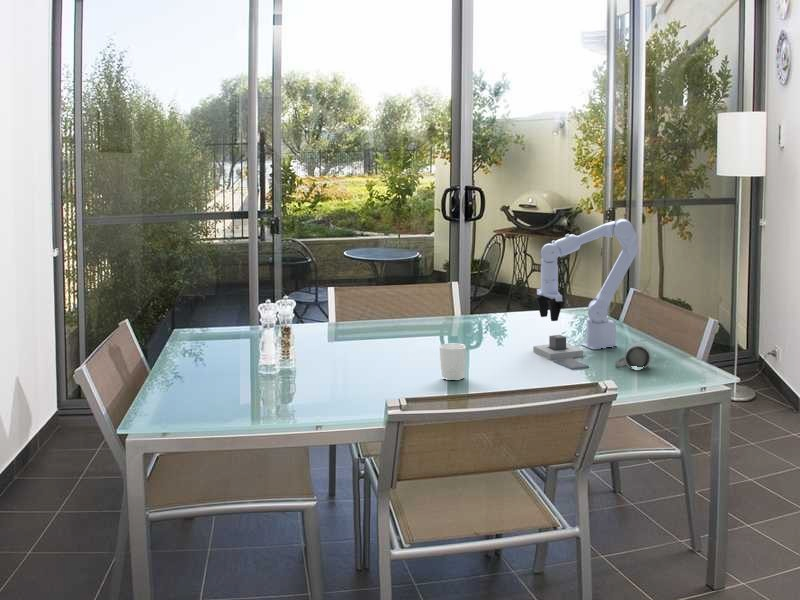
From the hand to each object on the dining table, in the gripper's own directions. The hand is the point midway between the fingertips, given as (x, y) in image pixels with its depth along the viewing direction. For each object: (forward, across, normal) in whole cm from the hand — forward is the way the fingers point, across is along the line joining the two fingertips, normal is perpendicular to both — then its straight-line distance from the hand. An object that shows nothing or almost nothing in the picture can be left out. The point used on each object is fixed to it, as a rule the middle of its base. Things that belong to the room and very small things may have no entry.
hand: (549, 318), depth 320 cm
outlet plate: (+9, +12, -3) cm, 16 cm away
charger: (+10, +12, -3) cm, 16 cm away
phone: (+10, +26, -6) cm, 28 cm away
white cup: (+10, +26, -46) cm, 54 cm away
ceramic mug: (+10, +36, +10) cm, 39 cm away
